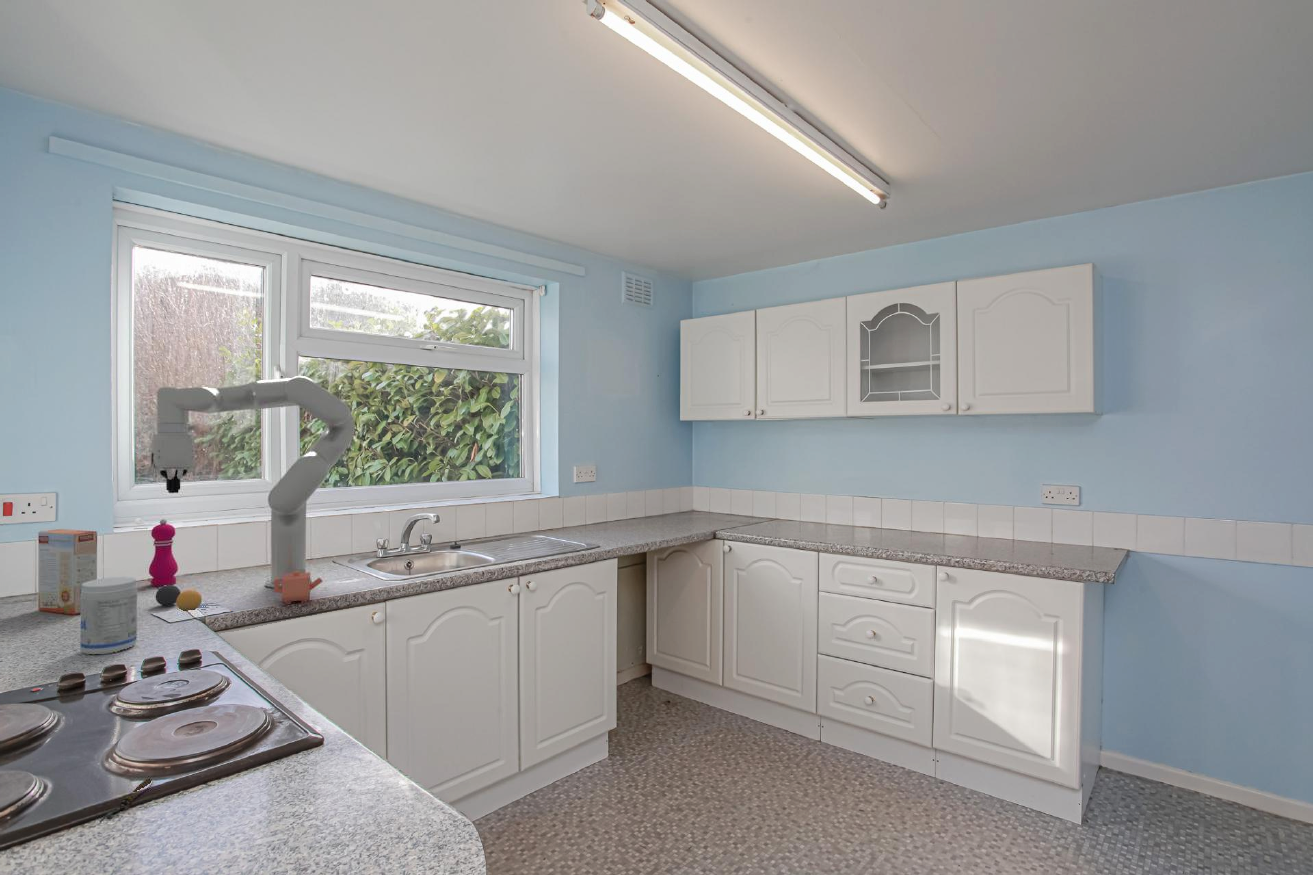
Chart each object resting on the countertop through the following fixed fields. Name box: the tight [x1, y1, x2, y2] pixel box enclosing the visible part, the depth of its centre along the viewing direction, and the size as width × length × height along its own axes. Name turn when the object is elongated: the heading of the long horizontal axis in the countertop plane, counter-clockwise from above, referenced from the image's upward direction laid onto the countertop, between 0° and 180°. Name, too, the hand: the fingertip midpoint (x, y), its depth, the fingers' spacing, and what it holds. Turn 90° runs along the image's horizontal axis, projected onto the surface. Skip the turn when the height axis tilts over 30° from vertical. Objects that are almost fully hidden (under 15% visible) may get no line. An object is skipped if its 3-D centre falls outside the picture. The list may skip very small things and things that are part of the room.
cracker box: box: [37, 528, 98, 616], centre depth 179 cm, size 14×6×21 cm, turn 71°
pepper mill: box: [148, 518, 179, 587], centre depth 210 cm, size 7×7×20 cm
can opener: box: [99, 778, 153, 823], centre depth 87 cm, size 9×2×1 cm, turn 3°
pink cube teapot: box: [273, 571, 323, 605], centre depth 190 cm, size 8×12×8 cm, turn 116°
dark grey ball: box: [155, 584, 182, 607], centre depth 184 cm, size 6×6×6 cm
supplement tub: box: [80, 576, 138, 656], centre depth 148 cm, size 10×10×15 cm
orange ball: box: [175, 589, 203, 611], centre depth 179 cm, size 6×6×6 cm
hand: (173, 492), depth 199 cm, fingers closed
